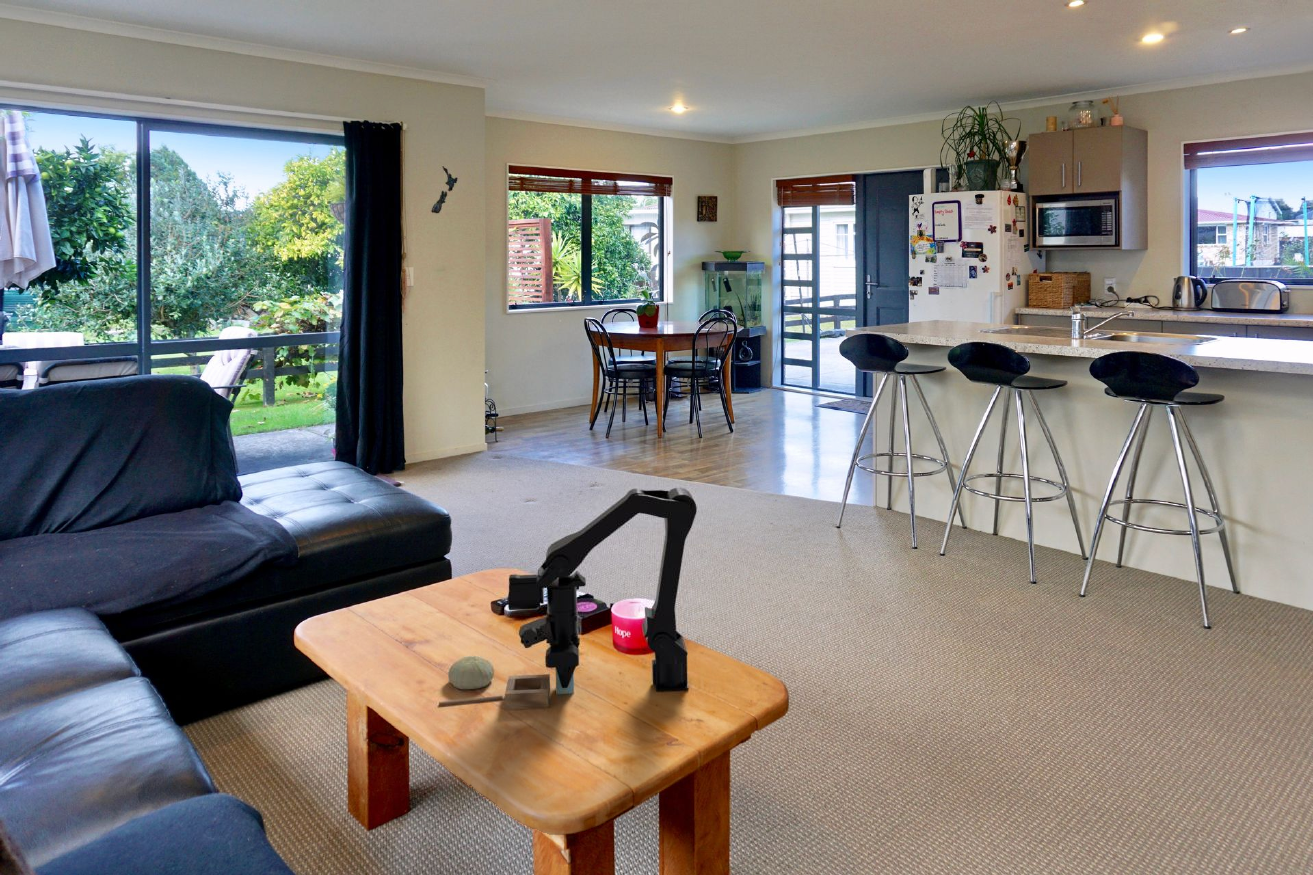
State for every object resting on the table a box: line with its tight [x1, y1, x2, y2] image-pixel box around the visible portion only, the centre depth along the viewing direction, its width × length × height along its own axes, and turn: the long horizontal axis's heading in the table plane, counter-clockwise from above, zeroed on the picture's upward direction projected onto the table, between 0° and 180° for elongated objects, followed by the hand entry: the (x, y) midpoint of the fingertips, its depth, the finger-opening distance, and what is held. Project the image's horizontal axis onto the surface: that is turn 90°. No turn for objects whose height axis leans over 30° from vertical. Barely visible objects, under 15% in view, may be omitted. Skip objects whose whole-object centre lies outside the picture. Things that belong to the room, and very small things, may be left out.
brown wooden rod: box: [438, 695, 504, 707], centre depth 181 cm, size 12×1×1 cm, turn 101°
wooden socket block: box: [504, 673, 551, 711], centre depth 181 cm, size 8×8×3 cm
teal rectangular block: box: [554, 668, 575, 695], centre depth 184 cm, size 3×3×8 cm
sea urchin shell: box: [447, 655, 495, 690], centre depth 189 cm, size 9×8×8 cm
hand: (565, 682), depth 185 cm, fingers open, 4 cm apart
